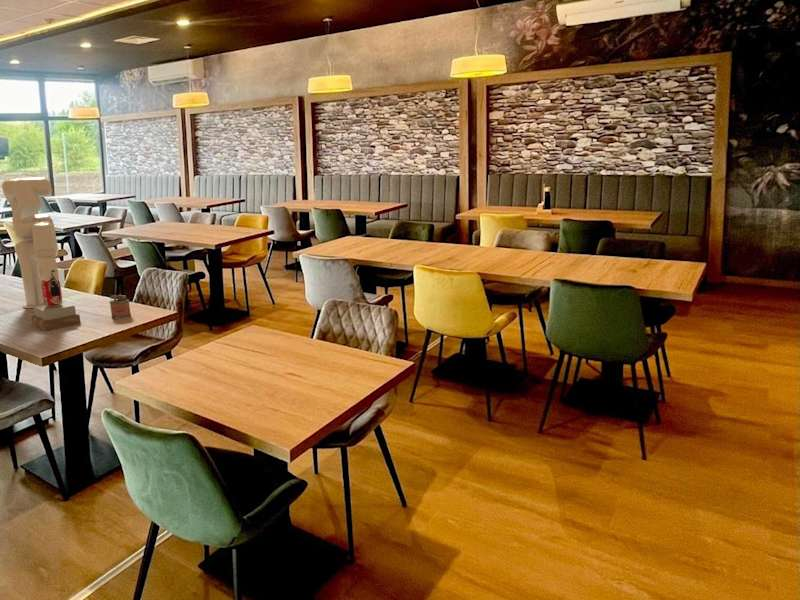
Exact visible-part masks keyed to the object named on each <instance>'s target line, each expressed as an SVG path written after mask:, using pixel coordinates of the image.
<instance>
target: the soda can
mask: <svg viewBox="0 0 800 600" xmlns="http://www.w3.org/2000/svg"><path fill="white" fill-rule="evenodd" d="M51 280H53V279H51ZM58 282H59V283H58V284H59V291H60V296H54V297H52V295H51V289H50V287H51V285H50V282H49V281H48V282H47V281H44V280H42V282H41V288H42V294H43V300H44V304H45V306H47V307H58V306H60V305H61V304H62V301H63V293H62V288H61V282H60V280H59V281H58ZM52 283H53V282H52Z"/></svg>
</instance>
